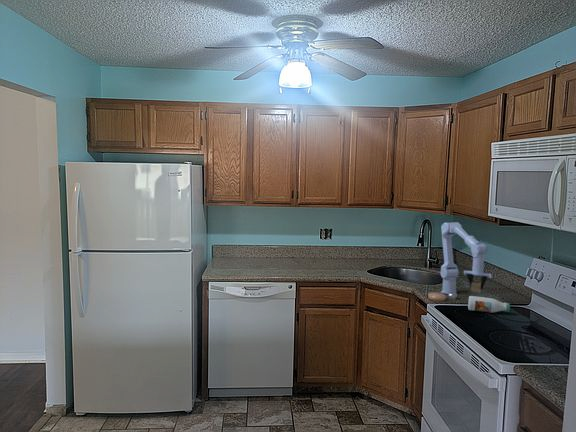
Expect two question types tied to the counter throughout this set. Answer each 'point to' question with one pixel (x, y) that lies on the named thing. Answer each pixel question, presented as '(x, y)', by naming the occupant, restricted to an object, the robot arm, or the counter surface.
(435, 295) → the tan round disc
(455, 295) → the grey tin
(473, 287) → the walnut cube
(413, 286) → the counter surface
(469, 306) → the milk bottle
